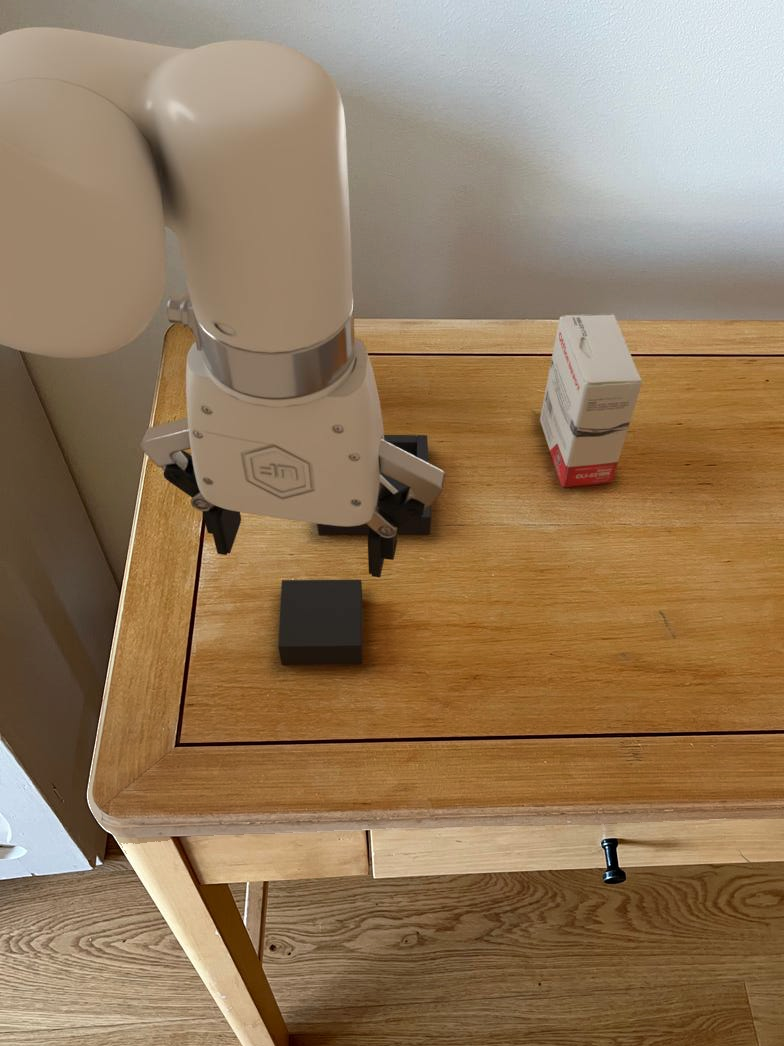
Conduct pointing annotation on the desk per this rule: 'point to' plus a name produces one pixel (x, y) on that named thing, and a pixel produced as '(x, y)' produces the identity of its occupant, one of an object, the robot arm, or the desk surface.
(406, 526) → the socket pad
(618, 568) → the desk surface
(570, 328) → the ink box
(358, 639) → the black pad
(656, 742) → the desk surface
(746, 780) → the desk surface
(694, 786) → the desk surface
